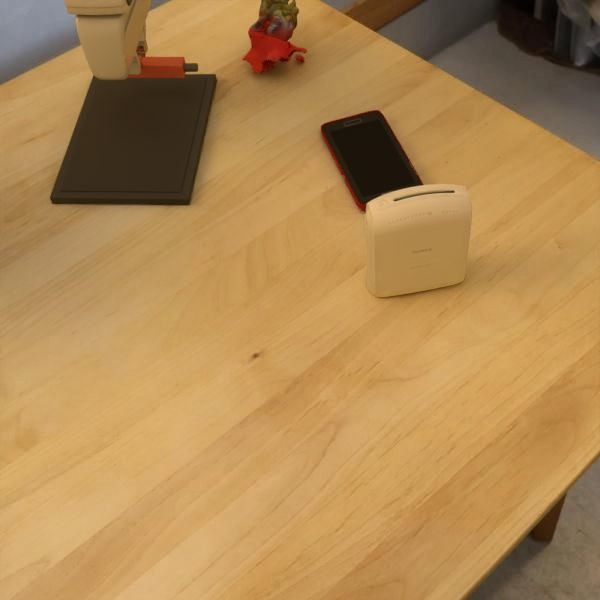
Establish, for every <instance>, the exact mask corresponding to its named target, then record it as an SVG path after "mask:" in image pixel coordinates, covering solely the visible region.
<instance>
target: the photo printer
mask: <svg viewBox="0 0 600 600" xmlns="http://www.w3.org/2000/svg"><path fill="white" fill-rule="evenodd" d="M472 218H473V203H472V200H471V196H470V195H469V192H468V189H467V187H466V186H465V185H461V184H456V183H455V184H453V183H432V184H423V185H421V186H415V187H409V188H405V189H401V190H397V191H394V192H390V193H388V194H385V195H382V196H380V197H377V198H375V199H373V200H371V201H370V202H368V203H367V204H366V211H365V214H364V218H363V219H364V220H363V221H364V222H363V223H364V227H363V228H364V259H365V261H364V262H365V263H364V265H365V286H366V288H367V290H368V291H369V292H370V293H371V295H373V296H374V297H375V298H387V297H394V296H401V295H406V294H408V295H409V294H413V293H420V292H425V291H429V290H436V289H441V288H445V287H450V286H453V285H454V286H455V285H457V284H460V283H462V282H464V281H465V278H466V272H467V264H468V256H469V247H470V238H471V230H472V229H471V228H472V221H473V219H472Z"/></svg>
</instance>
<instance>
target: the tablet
mask: <svg viewBox="0 0 600 600" xmlns="http://www.w3.org/2000/svg"><path fill="white" fill-rule="evenodd" d="M217 81H218V78H217V74H216V73H185V77H184V78H126V79H125V80H100V79H98V78H96V77H95V76H94V75H93V74H92V77H91V81H90V82H89V87H88V89H87V91H86V95H85V98H84V100H83V103H82V106H81V109H80V112H79V114H78V117H77V120H76V123H75V125H74V128H73V131H72V134H71V136H70V140H69V142H68V145H67V148H66V149H65V153H64V156H63V159H62V162H61V164H60V167H59V171H58V173H57V175H56V179H55V180H54V184H53V187H52V190H51V192H50V195H49V199H50V202H51V204H52V205H53V204H54V205H55V204H56V205H57V204H61V205H63V204H64V205H67V204H68V205H75V204H76V205H147V206H148V205H150V206H151V205H152V206H158V205H159V206H167V205H168V206H190V204H191V201H192V196H193V191H194V187H195V183H196V177H197V173H198V169H199V163H200V160H201V154H202V151H203V146H204V142H205V137H206V136H205V135H206V132H207V127H208V124H209V123H208V122H209V118H210V113H211V108H212V104H213V99H214V95H215V90H216V85H217Z"/></svg>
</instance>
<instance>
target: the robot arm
mask: <svg viewBox="0 0 600 600" xmlns="http://www.w3.org/2000/svg"><path fill="white" fill-rule="evenodd" d="M63 2H64V5H65V9H66V11H67V13H68V14H69V15H75V26H76V27H75V28H76V33H77V36H78V39H79V42H80V45H81V49H82V51H83V54H84V57H85V59H86V62H87V65H88V68H89V70H90V72H91V74H92V76H93V75H94V76H95V77H96V78H98V79H100V80H125V79H126V78H127V77H128V75H129V74H137V75H138V74H140V73H141V70H142V66H143V62H142V58H141V57H147V53H148V50H149V45H148V41H147V18H148V14H149V11H150V9H151V5H152V2H153V0H63Z"/></svg>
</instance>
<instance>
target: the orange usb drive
mask: <svg viewBox="0 0 600 600" xmlns="http://www.w3.org/2000/svg"><path fill="white" fill-rule="evenodd" d="M141 58H142V62H143V66H142V70H141V73H140V74H138V75H137V74H129V75H128V77H127V78H184V77H185V74H187V73H197V72H199V64H198V63H197V62H186V58H185V56H145V57H141Z"/></svg>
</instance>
